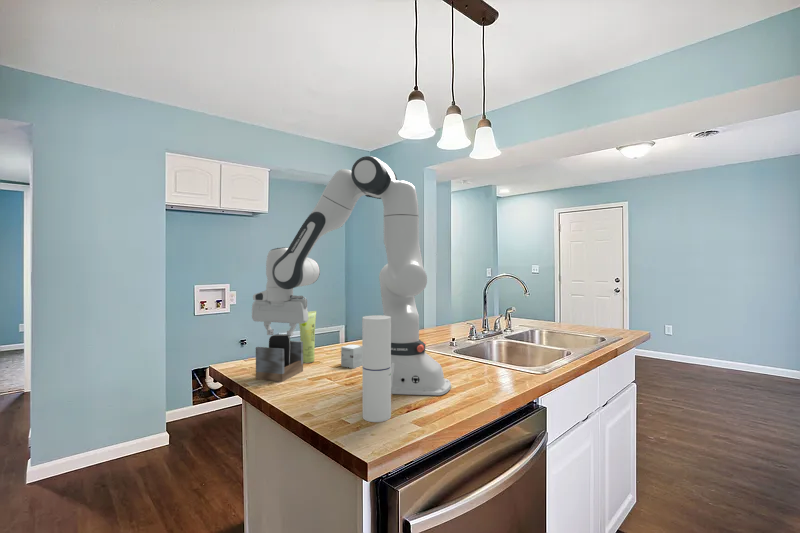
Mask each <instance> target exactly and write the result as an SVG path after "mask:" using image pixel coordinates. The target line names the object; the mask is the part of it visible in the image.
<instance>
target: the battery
mask: <svg viewBox="0 0 800 533" xmlns="http://www.w3.org/2000/svg"><path fill="white" fill-rule="evenodd" d="M290 341H291V336H287V333H286V334H285V333H283V334H282V333H279V334H273V335H270V337H269V340H268V348H282V349H284V367H286V366H288V365H290Z"/></svg>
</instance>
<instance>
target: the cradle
mask: <svg viewBox="0 0 800 533" xmlns="http://www.w3.org/2000/svg"><path fill="white" fill-rule="evenodd" d="M302 372H304V363H303V342H302V341H301V340H290V365H288V366H286V367H284V349H282V348H269V347H265V346H256V347H255V380H259V381H268V382H269V381H271V382H281V383H283V382H284V381H287V380H289V379H290V378H292V377H294V376H297V375H298V374H300V373H302Z"/></svg>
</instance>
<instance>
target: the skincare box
mask: <svg viewBox="0 0 800 533" xmlns="http://www.w3.org/2000/svg"><path fill="white" fill-rule="evenodd" d="M340 351H341V352H340V366H341V367H342V368H343V367H344V368H348V367H349V368H348V369H352V368H353V369H356V367H357V368H359V367H361V366H362V345H359V344H347V345H344V346H343V345H342V346H341V347H340Z"/></svg>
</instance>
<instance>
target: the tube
mask: <svg viewBox="0 0 800 533" xmlns="http://www.w3.org/2000/svg"><path fill="white" fill-rule="evenodd" d="M316 317H317V310H313V311H312V310H310V311H308V321H307V322H306V323H302V324H299V323H298V325H299V335H300V337H299V338H300V340H299V341H302V342H303V364H309V363H311V364H312V363H313V362H315V342H316V340H315V338H316V322H317V321H316V319H317V318H316Z"/></svg>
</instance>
